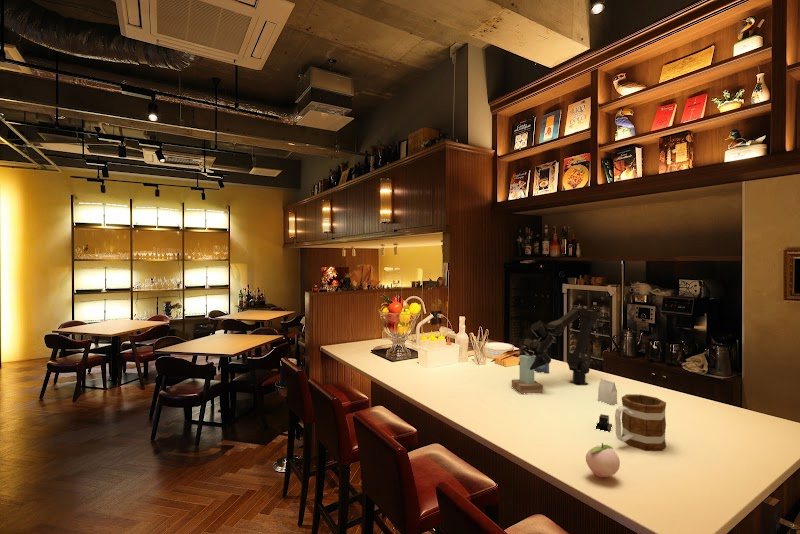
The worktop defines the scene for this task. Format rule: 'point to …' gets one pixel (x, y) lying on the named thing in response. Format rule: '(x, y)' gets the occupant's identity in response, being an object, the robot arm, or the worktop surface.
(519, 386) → the base brick
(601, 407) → the worktop surface
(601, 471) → the decorative fruit
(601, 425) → the black flanged block
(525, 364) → the tall block
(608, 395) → the paper bag
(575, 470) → the worktop surface
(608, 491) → the worktop surface
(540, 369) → the flask
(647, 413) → the mug
